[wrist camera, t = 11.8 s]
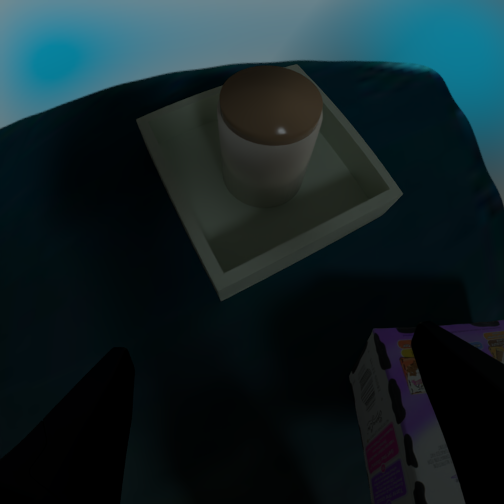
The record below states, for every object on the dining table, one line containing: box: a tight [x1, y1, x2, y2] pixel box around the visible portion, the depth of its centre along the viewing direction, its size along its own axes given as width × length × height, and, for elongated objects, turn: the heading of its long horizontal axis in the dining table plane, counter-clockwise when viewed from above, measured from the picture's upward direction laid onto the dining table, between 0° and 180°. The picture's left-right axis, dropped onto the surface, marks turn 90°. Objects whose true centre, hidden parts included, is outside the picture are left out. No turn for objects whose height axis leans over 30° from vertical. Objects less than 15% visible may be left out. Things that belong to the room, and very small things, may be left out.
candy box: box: [349, 320, 504, 504], centre depth 13 cm, size 14×6×16 cm
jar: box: [217, 66, 323, 208], centre depth 21 cm, size 6×6×8 cm
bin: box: [136, 64, 403, 301], centre depth 24 cm, size 15×15×4 cm
